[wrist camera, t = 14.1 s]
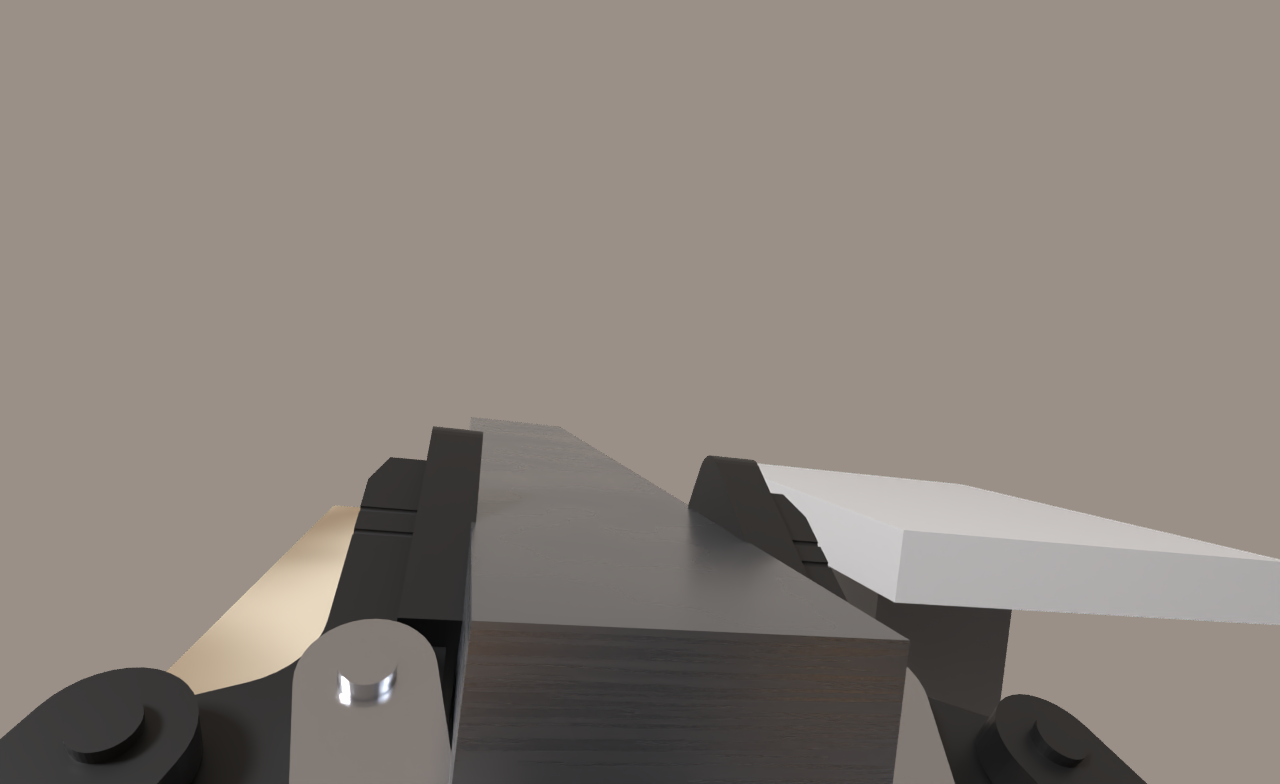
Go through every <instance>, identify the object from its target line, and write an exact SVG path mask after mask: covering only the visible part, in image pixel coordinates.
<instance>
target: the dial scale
mask: <svg viewBox="0 0 1280 784" xmlns="http://www.w3.org/2000/svg"><path fill="white" fill-rule="evenodd" d="M757 464H758V463H757ZM758 466H759V468H760V470H761V472H762V475H763V477H764V479H765V481H766V484H767V486H768V488H769V490H770V492H771V493H775V494H783V495H784V496H785V497H786V498H787V499H788V500H789V501H790V502H791V503H792V504H793V505H794V506H795V507H796V508H797V509H798V510H799V511H800V512H801V513H802V514H803V515H804V516H805V517H806V518H807V520H808V522H809V524H810V526H811V528H812V531H813V533H814V535H815V537H816V539H817V541H818V547H821V549H822V551H823V553H824V555H825V557H826V559H827V561H828V568H831V569H832V571H833V573H834V575H835V577H836V579H837V581H838V583H839V585H840V587H841V589H842V591H843V593H844V595H845V597H846V599H847V601H848V603H849V604H851V605H853V606H854V607H856V608H858V609H859V610H861V611H863V612H864V613H866V614H868V615H869V616H871V617H872V618H874V619H876V620H877V621H879V622H881V623H882V624H884V625H886V626H887V627H889V628H891V629H892V630H894V631H895V632H897V633H899V634H900V635H902V636H904V637H905V638H907V639H909V640H910V644H909V652H908V661H907V667H908V668H909V669H910V670H911V671H912V672H913V673H914V675H915V676H916V677H917V679H918V680H919V681H920V683H921V685H922V686H923V688H924V690H925V692H926V695H927V696H928V697H930V698H933V699H936V700H938V701H941V702H945V703H948V704H951V705H954V706H957V707H960V708H963V709H966V710H969V711H972V712H975V713H978V714H982V715H985V716H988V717H990V715H991V714H992V713H993V711H994V710H995V708H996V707H997V706H998V704H999V703H1000V699H1001V691H1002V683H1003V675H1004V667H1005V659H1006V651H1007V643H1008V635H1009V627H1010V619H1011V611H1012V609H1014V610H1032V611H1049V612H1066V613H1083V614H1084V613H1085V614H1100V615H1118V616H1136V617H1152V618H1169V619H1186V620H1187V619H1188V620H1204V621H1220V622H1238V623H1254V624H1272V625H1280V559H1276V558H1272V557H1267V556H1263V555H1259V554H1255V553H1250V552H1246V551H1242V550H1237V549H1233V548H1229V547H1225V546H1221V545H1217V544H1212V543H1208V542H1204V541H1199V540H1195V539H1191V538H1187V537H1183V536H1178V535H1174V534H1169V533H1166V532H1162V531H1157V530H1153V529H1149V528H1144V527H1140V526H1136V525H1132V524H1128V523H1123V522H1119V521H1115V520H1111V519H1106V518H1102V517H1098V516H1094V515H1090V514H1085V513H1081V512H1077V511H1073V510H1068V509H1064V508H1060V507H1055V506H1051V505H1047V504H1043V503H1039V502H1035V501H1030V500H1026V499H1022V498H1017V497H1013V496H1009V495H1005V494H1001V493H996V492H992V491H988V490H984V489H979V488H975V487H971V486H967V485H962V484H953V483H943V482H934V481H923V480H914V479H903V478H894V477H884V476H875V475H865V474H855V473H846V472H836V471H826V470H816V469H806V468H797V467H787V466H777V465H767V464H758Z"/></svg>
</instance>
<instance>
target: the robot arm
mask: <svg viewBox="0 0 1280 784" xmlns="http://www.w3.org/2000/svg"><path fill="white" fill-rule="evenodd" d="M482 444H483V432H482V431H472V430H463V429H453V428H443V427H433V430H432V435H431V440H430V446H429V451H428V456H427V461H425V460H414V459H403V458H393V457H390V458H389V459H388V460H387V461H386V462H385V463H384V464H383V465H382V466H381V467H380V468H379V469H378V470H377V471H376V472H375V473H374V474H373V475H372V476H371V477H370V478H369V479H368V482H367V485H366V489H365V492H364V496H363V500H362V503H361V507H360V511H359V513H358V517H357V520H356V523H355V527H354V533H353V534H352V537H351V541H350V544H349V548H348V551H347V555H346V558H345V562H344V565H343V568H342V572H341V575H340V579H339V582H338V586H337V589H336V593H335V596H334V600H333V603H332V607H331V610H330V613H329V617H328V620H327V623H326V625H325V628H324V630H323V632H322V634H321V635H320V637H319V638H318V639H317V640H315V641H314V642H313V643H312V644H311V645H310V646H309V647H308V648H307V649H306V651H305V652H304V653H303V655H302V656H301V657H300V658H299V659H297V660H296V661H294V662H293V663H292V664H290V665H289V666H287V667H285V668H283V669H281V670H279V671H277V672H275V673H273V674H271V675H268V676H266V677H263V678H260V679H257V680H253V681H250V682H246V683H242V684H238V685H234V686H229V687H225V688H221V689H217V690H213V691H208V692H204V693H200V694H196V695H195V694H194V692H193V691H192V690H191V688H190V687H189V686H188V684H187V683H185V682H184V681H183V680H182V679H180V678H179V677H177V676H175V675H173V674H171V673H169V672H165V671H162V670H158V669H151V668H124V669H117V670H112V671H108V672H104V673H100V674H96V675H94V676H91V677H88V678H86V679H83V680H80V681H78V682H76V683H74V684H72V685H70V686H68V687H66V688H64V689H63V690H61V691H59V692H58V693H56V694H54V695H53V696H51V697H50V698H49V699H47V700H46V701H45V702H43V703H42V704H41V705H40V706H38V707H37V708H36V709H35V710H34V711H32V712H31V713H30V714H29V715H28V716H27V717H26V718H24V719H23V720H22V721H21V722H20V723H18V724H17V725H16V726H15V727H14V728H13V729H12V730H10V731H9V732H8V733H7V734H6V735H5V736H3V737H2V738H1V739H0V784H448V782H449V771H450V760H451V749H450V742H449V736H448V729H447V726H448V719H449V712H450V705H451V698H452V691H453V684H454V677H455V670H456V663H457V656H458V649H459V642H460V635H461V628H462V621H463V610H464V598H465V587H466V576H467V565H468V554H469V543H470V531H471V522H476V518H477V506H478V493H479V481H480V468H481V456H482ZM688 507H689V508H691V509H693V510H694V511H696V512H697V513H699V514H701V515H702V516H704V517H705V518H707V519H709V520H710V521H712V522H714V523H715V524H717V525H718V526H720V527H722V528H723V529H725V530H727V531H728V532H730V533H731V534H733V535H735V536H736V537H738V538H739V539H741V540H743V541H744V542H746V543H751V544H753V545H754V546H756V547H758V548H759V549H761V550H763V551H764V552H766V553H767V554H769V555H771V556H772V557H774V558H776V559H777V560H779V561H781V562H782V563H784V564H786V565H787V566H789V567H790V568H792V569H794V570H795V571H797V572H799V573H800V574H802V575H804V576H805V577H807V578H808V579H810V580H812V581H813V582H815V583H817V584H818V585H820V586H822V587H823V588H825V589H827V590H828V591H830V592H831V593H833V594H835V595H836V596H838V597H840V598H841V599H843V600H845V601H846V602H848V601H847V599H846V597H845V595H844V593H843V591H842V589H841V587H840V585H839V583H838V581H837V579H836V577H835V575H834V573H833V571H832V569H831V568H828V561H827V559H826V557H825V555H824V553H823V551H822V549H821V547H818V541H817V539H816V537H815V535H814V533H813V531H812V528H811V526H810V524H809V522H808V520H807V518H806V517H805V516H804V515H803V514H802V513H801V512H800V511H799V510H798V509H797V508H796V507H795V506H794V505H793V504H792V503H791V502H790V501H789V500H788V499H787V498H786V497H785V496H784V495H783V494H775V493H771V492H770V490H769V488H768V486H767V484H766V481H765V479H764V477H763V475H762V472H761V470H760V468H759V466H758V464H757V463H756V462H755V461H754V460H748V459H738V458H728V457H719V456H707V457H706V458H705V459H704V461H703V463H702V465H701V468H700V471H699V474H698V478H697V480H696V483H695V486H694V489H693V493H692V496H691V499H690V502H689V505H688ZM893 784H1147V783H1146V782H1145V781H1144V780H1142V779H1141V778H1140V777H1139V776H1138V775H1137V774H1136V773H1135V772H1134V771H1133V770H1132V769H1131V768H1130V767H1129V766H1128V765H1126V764H1125V763H1124V762H1123V761H1122V760H1121V759H1120V758H1119V757H1118V756H1117V755H1116V754H1115V753H1114V752H1113V751H1111V750H1110V749H1109V748H1108V747H1107V746H1106V745H1105V744H1104V743H1103V742H1102V741H1101V740H1099V738H1098V737H1096V736H1095V735H1094V734H1093V733H1092V732H1091V731H1090V730H1089V729H1088V728H1087V727H1086V726H1085V725H1083V724H1082V723H1081V722H1080V721H1079V720H1077V719H1076V718H1075V717H1074V716H1072V715H1071V714H1069V713H1068V712H1067V711H1065V710H1063V709H1062V708H1060V707H1058V706H1057V705H1055V704H1052V703H1051V702H1049V701H1046V700H1044V699H1041V698H1038V697H1034V696H1030V695H1022V694H1018V695H1011V696H1008V697H1005V698H1004V699H1003V700H1001V701H1000V703H999V704H998V706H997V707H996V708H995V710H994V711H993V713H992V714H991V715H990V717H988V716H985V715H982V714H978V713H975V712H972V711H969V710H966V709H963V708H960V707H957V706H954V705H951V704H948V703H945V702H941V701H938V700H936V699H933V698H930V697H928V696H927V695H926V692H925V690H924V688H923V686H922V685H921V683H920V681H919V680H918V679H917V677H916V676H915V675H914V673H913V672H912V671H911V670H910V669H909V668H908V667H907V669H906V677H905V686H904V694H903V702H902V711H901V719H900V727H899V735H898V744H897V752H896V760H895V769H894V777H893Z"/></svg>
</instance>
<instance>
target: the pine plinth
mask: <svg viewBox="0 0 1280 784" xmlns="http://www.w3.org/2000/svg"><path fill="white" fill-rule="evenodd" d="M359 511H360V507H348V506H335V505H334V506H333V507H332V508H331V509H330V510H329V511H328V512H327V513H326V514H325V515H324V516H323V517H322V518H321V519H320V520H319V521H318V522H317V523H316V524H315V525H314V526H313V527H312V528H311V529H310V530H309V531H308V532H307V533H306V534H305V535H304V536H303V537H302V538H301V539H300V540H299V541H298V542H297V543H296V544H295V545H294V546H293V547H292V548H291V549H290V550H289V551H288V552H287V553H286V554H285V555H284V556H283V557H282V558H281V559H280V560H278V561H277V562H276V563H275V564H274V565H273V566H272V567H271V568H270V569H269V570H268V572H266V573H265V574H264V575H263V576H262V577H261V578H260V579H259V580H258V582H257V583H255V584H254V585H253V586H252V587H251V588H250V589H249V590H248V591H247V592H246V593H245V594H244V595H243V596H242V597H241V598H240V599H239V601H237V602H236V603H235V604H234V605H233V606H232V607H231V608H230V609H229V610H228V611H227V612H226V613H225V614H224V615H223V616H222V617H221V618H220V619H219V620H218V621H217V622H216V623H215V624H214V625H213V626H212V627H211V628H210V629H209V630H208V631H207V632H206V633H205V634H204V635H203V636H202V637H201V638H200V639H199V640H198V641H197V642H196V643H195V644H194V645H193V646H192V647H191V648H190V649H189V650H188V651H187V652H186V653H185V654H184V655H183V656H182V657H181V658H180V659H179V660H178V661H177V662H176V663H175V664H174V665H173V666H172V667H171V668H170V669H169V670H168V671H167V672H169V673H171V674H173V675H175V676H177V677H179V678H180V679H182V680H183V681H184V682H185V683H187V684H188V686H189V687H190V688H191V690H192V691H193V692H194V694H195V695H196V694H200V693H204V692H208V691H213V690H217V689H221V688H225V687H229V686H234V685H238V684H242V683H246V682H250V681H253V680H257V679H260V678H263V677H266V676H268V675H271V674H273V673H275V672H277V671H279V670H281V669H283V668H285V667H287V666H289V665H290V664H292V663H293V662H294V661H296V660H297V659H299V658H300V657H301V656H302V655H303V653H304V652H305V651H306V649H307V648H308V647H309V646H310V645H311V644H312V643H313V642H314V641H315V640H317V639H318V638H319V637H320V635H321V634H322V632H323V630H324V628H325V625H326V623H327V620H328V617H329V613H330V610H331V607H332V603H333V600H334V596H335V593H336V589H337V586H338V582H339V579H340V575H341V572H342V568H343V565H344V562H345V558H346V555H347V551H348V548H349V544H350V541H351V537H352V534H353V533H354V527H355V523H356V520H357V517H358V513H359Z"/></svg>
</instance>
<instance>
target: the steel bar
mask: <svg viewBox="0 0 1280 784" xmlns="http://www.w3.org/2000/svg"><path fill="white" fill-rule="evenodd" d="M470 430H472V431H482V432H483V444H482V456H481V468H480V481H479V493H478V506H477V518H476V522H471V531H470V543H469V554H468V565H467V576H466V587H465V598H464V610H463V621H462V628H461V635H460V642H459V649H458V656H457V663H456V670H455V677H454V684H453V691H452V698H451V705H450V712H449V719H448V726H447V729H448V736H449V742H450V749H451V760H450V771H449V782H448V784H893V777H894V769H895V760H896V752H897V744H898V735H899V727H900V719H901V711H902V702H903V694H904V686H905V677H906V669H907V661H908V652H909V644H910V640H909V639H907V638H905V637H904V636H902V635H900V634H899V633H897V632H895V631H894V630H892V629H891V628H889V627H887V626H886V625H884V624H882V623H881V622H879V621H877V620H876V619H874V618H872V617H871V616H869V615H868V614H866V613H864V612H863V611H861V610H859V609H858V608H856V607H854V606H853V605H851V604H849V603H848V602H846V601H845V600H843V599H841V598H840V597H838V596H836V595H835V594H833V593H831V592H830V591H828V590H827V589H825V588H823V587H822V586H820V585H818V584H817V583H815V582H813V581H812V580H810V579H808V578H807V577H805V576H804V575H802V574H800V573H799V572H797V571H795V570H794V569H792V568H790V567H789V566H787V565H786V564H784V563H782V562H781V561H779V560H777V559H776V558H774V557H772V556H771V555H769V554H767V553H766V552H764V551H763V550H761V549H759V548H758V547H756V546H754V545H753V544H751V543H746V542H744V541H743V540H741V539H739V538H738V537H736V536H735V535H733V534H731V533H730V532H728V531H727V530H725V529H723V528H722V527H720V526H718V525H717V524H715V523H714V522H712V521H710V520H709V519H707V518H705V517H704V516H702V515H701V514H699V513H697V512H696V511H694V510H693V509H691V508H689V507H688V505H687V504H685V503H684V502H682V501H680V500H679V499H677V498H676V497H674V496H672V495H671V494H669V493H667V492H666V491H664V490H662V489H661V488H659V487H658V486H656V485H654V484H653V483H651V482H649V481H648V480H646V479H644V478H643V477H641V476H640V475H638V474H636V473H635V472H633V471H631V470H630V469H628V468H626V467H625V466H623V465H621V464H620V463H618V462H617V461H615V460H613V459H612V458H610V457H608V456H607V455H605V454H603V453H602V452H600V451H598V450H597V449H595V448H594V447H592V446H590V445H588V444H587V443H585V442H584V441H582V440H580V439H579V438H577V437H576V436H574V435H572V434H571V433H569V432H567V431H566V430H564V429H562V428H561V427H556V426H548V425H538V424H529V423H519V422H510V421H501V420H492V419H482V418H472V417H471V422H470Z"/></svg>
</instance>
